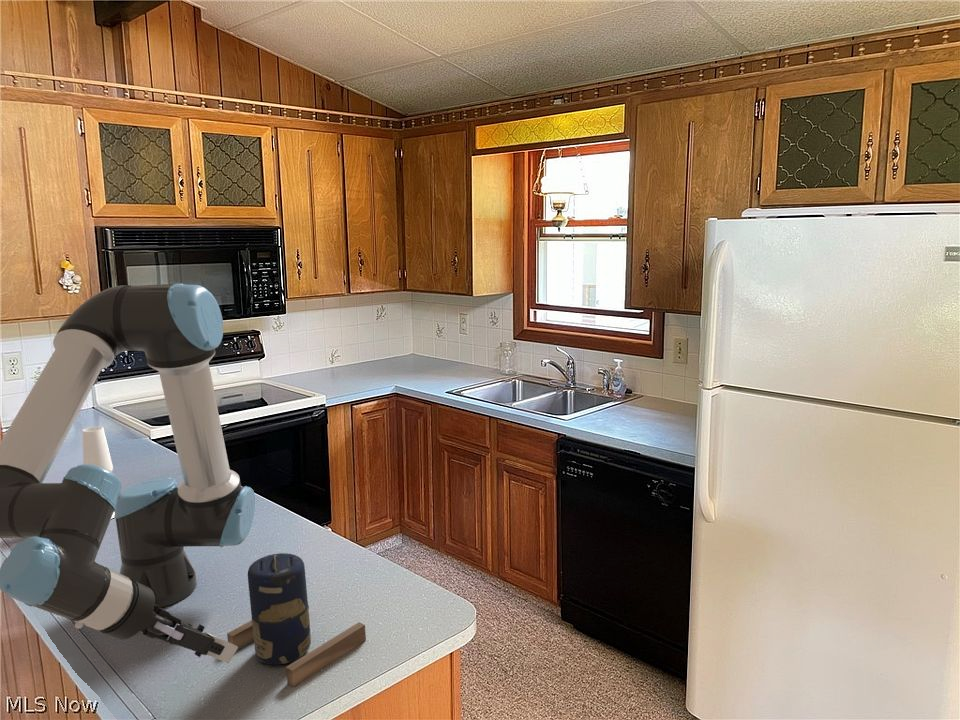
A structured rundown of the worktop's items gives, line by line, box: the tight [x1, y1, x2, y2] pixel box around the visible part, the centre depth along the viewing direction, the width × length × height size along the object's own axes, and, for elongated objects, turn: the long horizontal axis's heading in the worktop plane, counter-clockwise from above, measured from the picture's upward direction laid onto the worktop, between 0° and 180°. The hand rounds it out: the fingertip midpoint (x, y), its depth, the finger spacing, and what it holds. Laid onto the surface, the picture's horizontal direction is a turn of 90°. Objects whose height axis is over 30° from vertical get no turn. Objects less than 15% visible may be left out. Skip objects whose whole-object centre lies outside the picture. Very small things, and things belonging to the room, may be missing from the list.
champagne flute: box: [82, 425, 115, 519], centre depth 181 cm, size 7×7×24 cm
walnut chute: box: [226, 619, 367, 688], centre depth 125 cm, size 18×16×3 cm
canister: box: [247, 552, 312, 665], centre depth 121 cm, size 10×10×18 cm
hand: (230, 653), depth 114 cm, fingers closed
